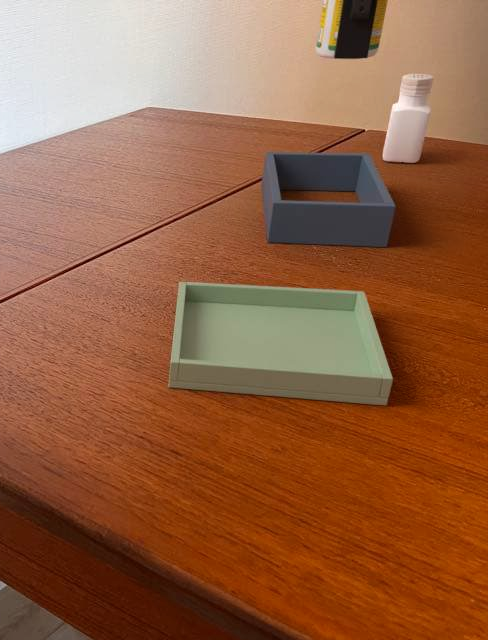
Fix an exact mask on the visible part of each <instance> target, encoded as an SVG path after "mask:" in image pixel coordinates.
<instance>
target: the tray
mask: <svg viewBox="0 0 488 640" xmlns="http://www.w3.org/2000/svg"><path fill="white" fill-rule="evenodd" d="M176 300H177V301H176V306H175V307H176V308H175V317H174V326H173V334H172V335H173V337H172V345H171V353H170V362H169V374H168V385H167V387H168V388H169V389H170V388H171V389H182V390H193V391H204V392H205V391H207V392H215V393H216V392H217V393H228V394H229V393H230V394H240V395H241V394H244V395H252V396H253V395H254V396H266V397H277V398H288V399H301V400H314V401H325V402H335V403H336V402H337V403H338V402H339V403H348V404H349V403H350V404H359V405H360V404H361V405H373V406H385V407H386V406H388V401H389V397H390V393H391V389H392V386H393V382H394V377H393V374H392V372H391V368H390V366H389V361H388V360H387V356H386V353H385V349H384V347H383V344H382V342H381V341H382V340H381V338H380V335H379V332H378V329H377V326H376V323H375V319H374V317H373V314H372V313H373V312H372V310H371V307H370V304H369V301H368V299H367V296H366V293H365V291H364V290H349V289H348V290H347V289H345V290H344V289H329V288H328V289H327V288H326V289H325V288H310V287H309V288H308V287H307V288H306V287H290V286H274V285H273V286H272V285H253V284H252V285H251V284H232V283H215V282H214V283H213V282H196V281H195V282H194V281H179V282H178V289H177V298H176Z"/></svg>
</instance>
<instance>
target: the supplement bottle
mask: <svg viewBox="0 0 488 640" xmlns="http://www.w3.org/2000/svg"><path fill="white" fill-rule="evenodd" d="M342 4H343V0H323V1H322V7H321V13H320V20H319V26H318V33H317V40H316V45H315V52H316V53H315V54H317V56H319V57H322V58H326V59H334V60H336V59H335V58H334V53H335V47H336V41H337V35H338V29H339V22H340V16H341V10H342ZM387 6H388V0H378V1H377V7H376V12H375V18H374V23H373V29H372V35H371V40H370V46H369V51H368V57H367V58H366V59H368V58H372V57H374V56H375V55H376V54H377V53H378V51H379V47H380V42H381V39H382V38H381V37H382V33H383V28H384V22H385V17H386V11H387ZM361 59H363V58H348V59H347V60H361Z"/></svg>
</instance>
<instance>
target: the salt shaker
mask: <svg viewBox="0 0 488 640" xmlns="http://www.w3.org/2000/svg"><path fill="white" fill-rule="evenodd" d="M433 83H434V76H433V75H432V74H427V73H408V74H403V76H401V83H400V87H399V91H398V93H399V96H398V101H397V102H395V103H393V104H392V105H391V111H390V114H389V115H390V116H389V121H388V124H387V129H386V130H387V131H386V136H385V139H384V143H383V144H384V145H383V148H382V149H383V150H382V160H383V161H384V162H388V163H402V162H403V164H415V163H417V162H419V161H420V159H421V155H422V151H423V147H424V142H425V137H426V133H427V129H428V125H429V119H430V116H431V112H432V111H431V109H432V107H431V105H430V104H428V100H429V97H430V94H431V91H432V87H433Z"/></svg>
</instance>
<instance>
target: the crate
mask: <svg viewBox="0 0 488 640" xmlns="http://www.w3.org/2000/svg"><path fill="white" fill-rule="evenodd" d="M264 155H265V156H264V162H263V171H262V178H261V185H260V188H261V189H260V190H261V198H262V206H263V215H264V223H265V224H264V225H265V233H266V240H267V243H271V244H272V243H273V244H293V245H294V244H295V245H320V246H341V247H342V246H344V247H366V248H367V247H368V248H370V247H371V248H388V243H389V239H390V234H391V231H392V225H393V221H394V217H395V212H396V208H397V207H396V204H395V202H394V200H393V198H392V196H391V194H390V192H389V190H388V188H387V186H386V184H385V182H384V180H383V178H382V176H381V174H380V173H379V170H378V169H377V166H376V164H375V161H374V160H373V159H372V157H371V154H370V153H360V152H359V153H354V152H353V153H351V152H346V153H345V152H297V151H296V152H291V151H290V152H289V151H287V152H286V151H266V152H265V154H264ZM281 190H282V191H283V190H284V191H316V192H317V191H320V192H321V191H322V192H355V194H356V196H357V198H358V201H359V202H354V201H353V202H348V201H316V200H314V201H313V200H282V194H281Z"/></svg>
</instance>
